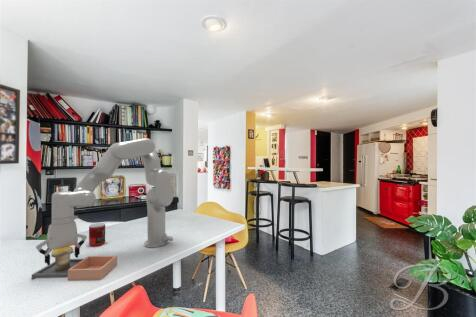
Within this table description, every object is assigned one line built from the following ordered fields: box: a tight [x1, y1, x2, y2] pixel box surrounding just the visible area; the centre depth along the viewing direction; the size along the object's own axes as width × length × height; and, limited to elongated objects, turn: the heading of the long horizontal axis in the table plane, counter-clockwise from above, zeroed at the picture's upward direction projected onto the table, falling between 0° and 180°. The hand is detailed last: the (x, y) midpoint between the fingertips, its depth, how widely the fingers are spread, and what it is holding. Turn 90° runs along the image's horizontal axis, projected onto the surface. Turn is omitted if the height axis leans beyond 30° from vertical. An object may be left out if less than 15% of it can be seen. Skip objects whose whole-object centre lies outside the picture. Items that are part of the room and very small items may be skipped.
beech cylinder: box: [54, 252, 71, 271], centre depth 97 cm, size 5×5×6 cm
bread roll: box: [51, 246, 74, 257], centre depth 114 cm, size 8×9×4 cm
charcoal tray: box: [31, 258, 85, 280], centre depth 97 cm, size 14×14×2 cm
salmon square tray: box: [67, 255, 118, 281], centre depth 94 cm, size 13×13×4 cm
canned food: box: [88, 222, 106, 248], centre depth 127 cm, size 8×8×11 cm
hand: (62, 260), depth 97 cm, fingers open, 9 cm apart
